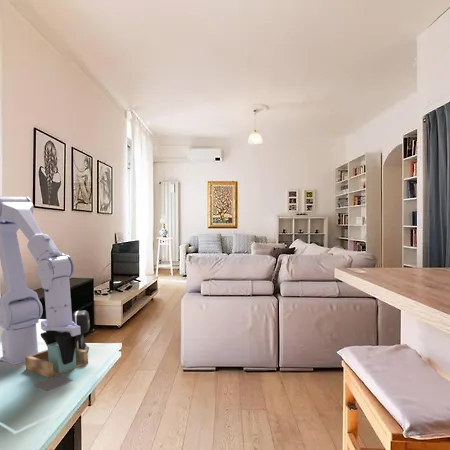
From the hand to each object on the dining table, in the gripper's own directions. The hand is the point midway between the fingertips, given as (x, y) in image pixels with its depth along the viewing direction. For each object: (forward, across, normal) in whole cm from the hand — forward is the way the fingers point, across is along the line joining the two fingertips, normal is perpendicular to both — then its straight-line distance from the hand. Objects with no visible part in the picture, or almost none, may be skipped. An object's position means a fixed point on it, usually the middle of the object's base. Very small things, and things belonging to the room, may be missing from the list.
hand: (62, 361), depth 92 cm
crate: (+2, -2, 0) cm, 3 cm away
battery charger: (+2, -6, +10) cm, 11 cm away
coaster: (+2, +6, -6) cm, 9 cm away
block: (+2, 0, 0) cm, 2 cm away
